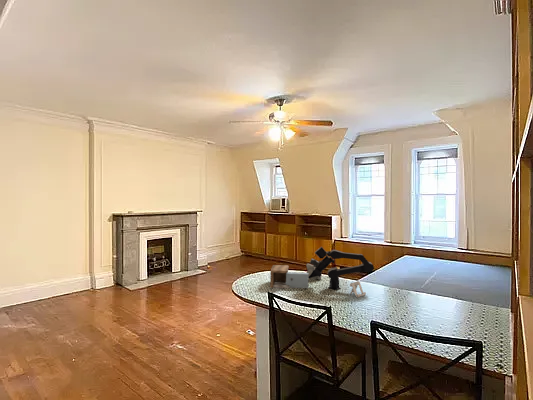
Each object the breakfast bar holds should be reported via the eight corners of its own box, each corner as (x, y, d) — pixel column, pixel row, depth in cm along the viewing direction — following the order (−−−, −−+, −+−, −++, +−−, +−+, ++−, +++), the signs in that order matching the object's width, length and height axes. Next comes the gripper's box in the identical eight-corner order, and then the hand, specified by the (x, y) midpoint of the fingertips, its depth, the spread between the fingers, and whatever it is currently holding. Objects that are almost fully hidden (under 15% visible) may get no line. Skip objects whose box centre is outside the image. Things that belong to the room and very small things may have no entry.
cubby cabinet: (290, 281, 245) (290, 265, 245) (289, 288, 227) (289, 270, 227) (273, 280, 247) (273, 264, 247) (270, 287, 229) (270, 270, 229)
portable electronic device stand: (358, 298, 207) (358, 285, 206) (348, 295, 213) (348, 282, 213) (365, 295, 212) (365, 283, 212) (355, 292, 218) (355, 280, 218)
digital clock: (322, 280, 249) (322, 267, 249) (311, 281, 247) (311, 267, 247) (314, 275, 265) (314, 262, 264) (304, 276, 263) (304, 263, 263)
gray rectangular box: (308, 286, 232) (308, 272, 232) (308, 288, 227) (308, 274, 227) (286, 285, 234) (286, 272, 234) (286, 287, 229) (286, 273, 229)
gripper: (316, 252, 238) (301, 266, 240) (316, 257, 220) (300, 272, 221) (326, 263, 237) (311, 277, 239) (328, 269, 219) (311, 284, 220)
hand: (308, 277), depth 230 cm, fingers closed, pressing on gray rectangular box
